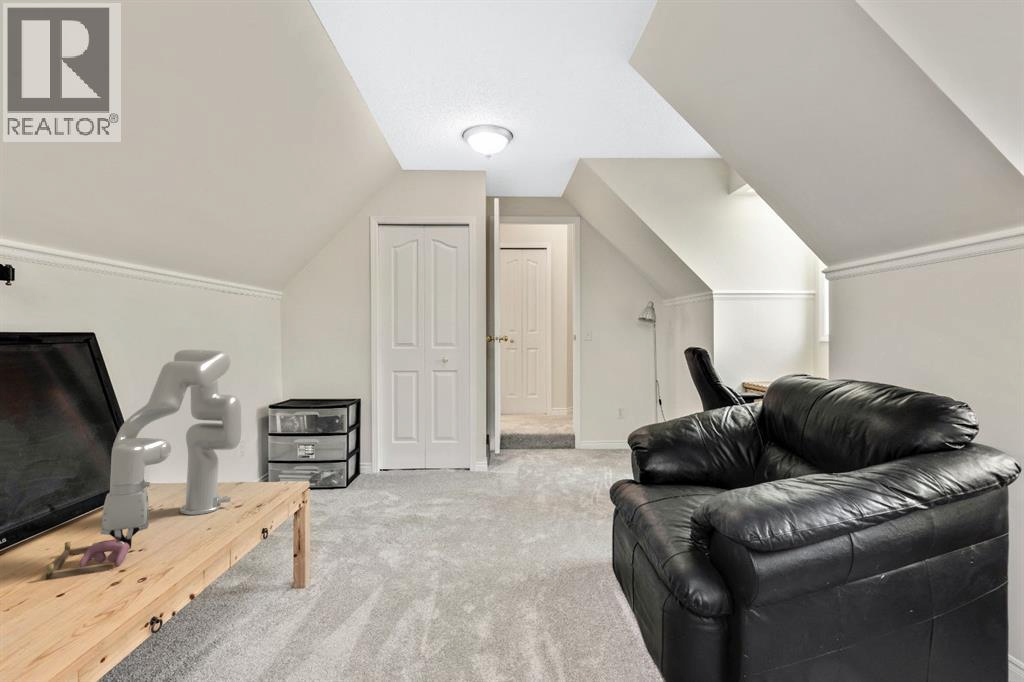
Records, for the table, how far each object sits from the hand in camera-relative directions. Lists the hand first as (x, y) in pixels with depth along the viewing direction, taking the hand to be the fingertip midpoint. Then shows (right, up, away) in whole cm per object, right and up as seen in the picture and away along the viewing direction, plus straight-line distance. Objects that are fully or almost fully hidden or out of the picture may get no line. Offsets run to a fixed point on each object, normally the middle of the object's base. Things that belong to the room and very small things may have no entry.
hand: (123, 551), depth 136 cm
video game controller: (-1, -1, -5) cm, 5 cm away
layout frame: (-6, -1, -4) cm, 7 cm away
